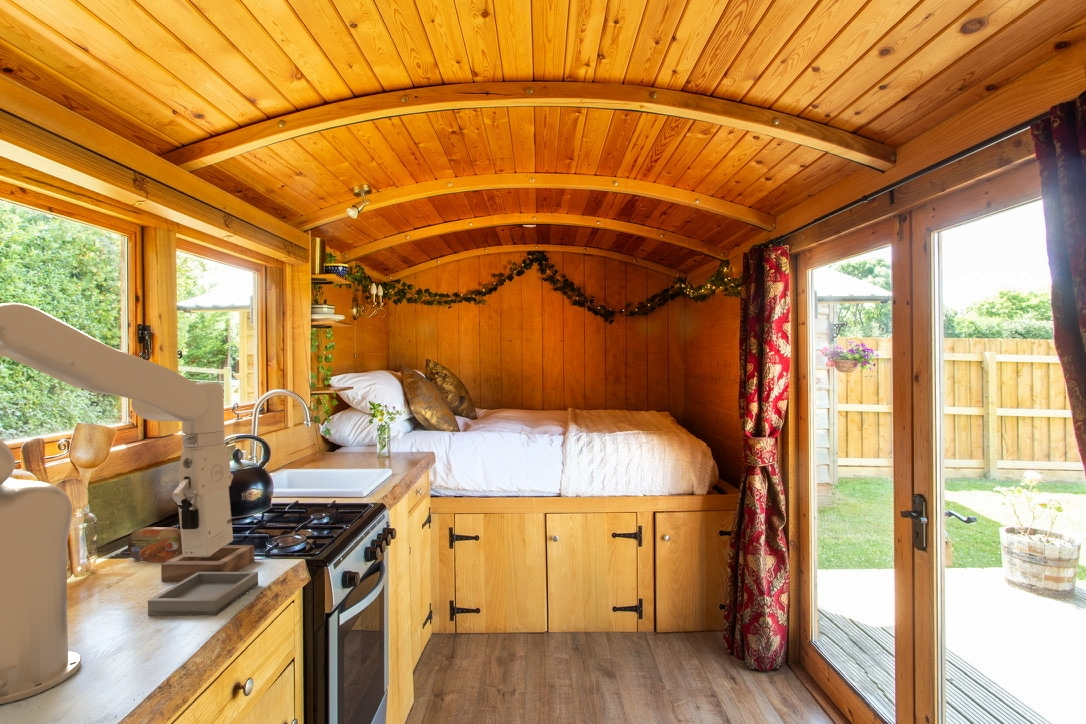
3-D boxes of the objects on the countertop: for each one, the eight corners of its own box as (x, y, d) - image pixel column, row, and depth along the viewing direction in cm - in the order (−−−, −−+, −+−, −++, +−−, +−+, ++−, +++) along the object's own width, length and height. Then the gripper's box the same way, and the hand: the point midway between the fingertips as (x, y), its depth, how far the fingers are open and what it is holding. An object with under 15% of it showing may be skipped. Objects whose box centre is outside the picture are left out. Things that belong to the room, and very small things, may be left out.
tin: (126, 561, 131) (126, 528, 132) (138, 556, 135) (137, 524, 135) (178, 563, 129) (178, 530, 129) (188, 558, 132) (188, 526, 133)
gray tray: (215, 615, 101) (215, 600, 101) (148, 615, 102) (147, 600, 102) (258, 585, 115) (258, 571, 115) (198, 585, 116) (198, 571, 116)
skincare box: (208, 557, 105) (202, 487, 104) (180, 558, 105) (174, 488, 104) (234, 540, 114) (229, 474, 112) (208, 540, 114) (203, 475, 113)
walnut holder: (221, 581, 118) (221, 564, 118) (161, 581, 118) (161, 564, 118) (254, 560, 130) (254, 545, 130) (199, 560, 131) (199, 545, 131)
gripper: (190, 447, 100) (192, 535, 100) (246, 434, 117) (248, 509, 117) (153, 447, 100) (156, 536, 100) (214, 434, 118) (216, 509, 118)
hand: (205, 521), depth 109 cm, fingers closed on skincare box, 8 cm apart
